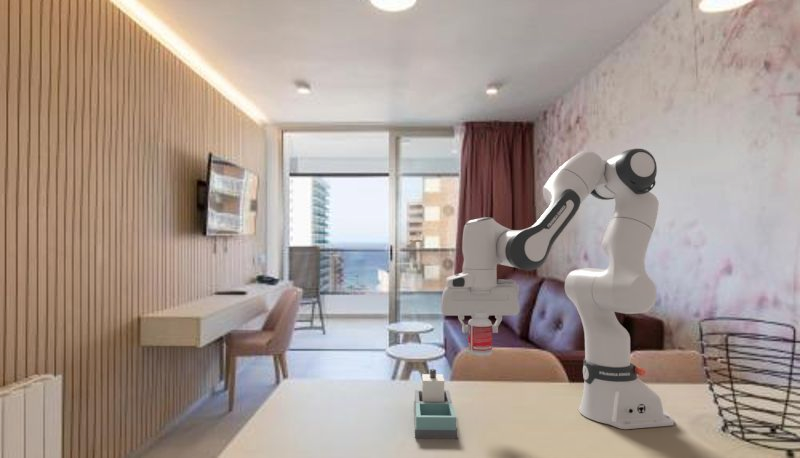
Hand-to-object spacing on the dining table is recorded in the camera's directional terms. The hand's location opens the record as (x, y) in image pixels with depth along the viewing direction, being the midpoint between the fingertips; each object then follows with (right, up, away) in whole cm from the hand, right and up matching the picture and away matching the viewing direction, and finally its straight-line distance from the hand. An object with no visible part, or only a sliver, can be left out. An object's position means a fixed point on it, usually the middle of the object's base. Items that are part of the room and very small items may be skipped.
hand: (479, 332), depth 116 cm
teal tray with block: (-12, -23, -2) cm, 26 cm away
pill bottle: (0, -6, 0) cm, 6 cm away
